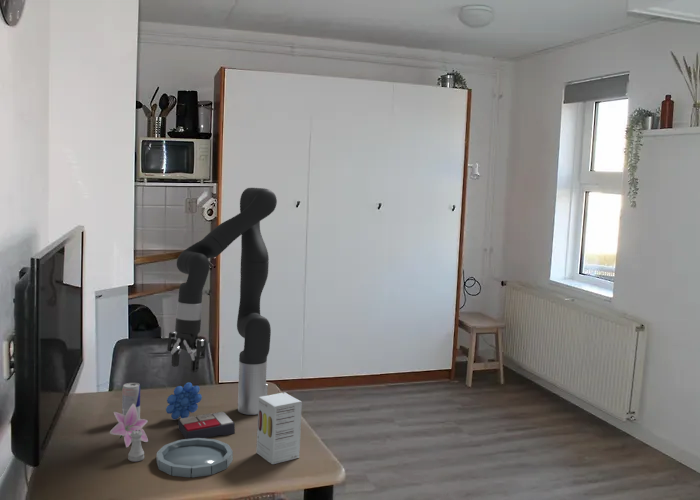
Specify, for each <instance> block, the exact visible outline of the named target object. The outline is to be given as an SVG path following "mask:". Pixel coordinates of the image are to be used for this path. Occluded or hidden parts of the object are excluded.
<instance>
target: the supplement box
mask: <svg viewBox="0 0 700 500" xmlns="http://www.w3.org/2000/svg"><path fill="white" fill-rule="evenodd" d="M302 403H303V401H301V400H299V399H298V398H296V397H294V396H292V395H290V394H288V393H287V392H285V391H284V392H279V393H273V394H267V396H261V397H259V402H258V414H257V429H256V430H257V433H256V450H255V451H256V452H255V453H256V454H257V455H259V456H260V457H261V458H262V459H264V460H265V461H266V462H268V463H269V464H271V465H275V464H276V465H277V464H279V463H280V464H281V463H283V462H287V461H291V460H295V459H299V458H300V450H301V430H302V429H301V426H302V410H303V404H302Z"/></svg>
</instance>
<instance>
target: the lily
mask: <svg viewBox="0 0 700 500" xmlns="http://www.w3.org/2000/svg"><path fill="white" fill-rule="evenodd" d="M113 414H114V417H115V419H116V420H117V423H116V425H115V426H114V427H112V429H111V430H110V431H109V434H111V435H115V436H120V437H119V439H121V438H122V437H123V440H124V445H125V448H129V446H130V445H132V441H131V439H132V437H131V435H130V434H131V433H132V431H133V430H135V431H136V429H138V431H139V429H140V430H141V432H142V433H143V435H142V436H141V439H142V440H141V442H144V443H148V442H149V439H148V436H147V433H146V432H145V430H144V429H143V427H145V425H146V424H148V419H146V418H140V419H138V413H137V409H136V406H135V404H132V405H131V407H130V408H129V410H128V412H127V413H126V415H123V414H122V412H117V411H113Z"/></svg>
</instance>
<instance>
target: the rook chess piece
mask: <svg viewBox="0 0 700 500" xmlns="http://www.w3.org/2000/svg"><path fill="white" fill-rule="evenodd" d="M130 435H131V437H132V439H131V441H132V442H131V448H130V450H129V452H128V454H127V456H128V457H127V459H128V461H130V462H134V463H137V462H141V461H143V460H144V459H145V457H146V456H145V451H144V449H143V447H142V441H141V440H142V439H141V436H142V435H143V433H142V432H141V430H140V429H139V431H138V429H136V431H135V430H133V431H132V433H131V434H130Z"/></svg>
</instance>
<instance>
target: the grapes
mask: <svg viewBox="0 0 700 500" xmlns="http://www.w3.org/2000/svg"><path fill="white" fill-rule="evenodd" d="M200 391H201V389H200V386H199V385H193V384H192V383H191V382H186V383H185V384H184V385H183V386H181V385H177V386H176V387H175V388H174V390H173V394H172V393H171V394H170V395H169V396H168V397H167V398H166V402H167V404H168V405H167V406H166V408H165V411H166V414H168V415H170V414H171V417H170V418H171V419H172V420H177V419H178V420H179V419H181V418H186V417H190V414H191V413H195V412H196V411H197V410H198V408H199V406H198V404H199V403H200V402H201V401H202V399H203V397H202V394H201V393H200Z"/></svg>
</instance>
